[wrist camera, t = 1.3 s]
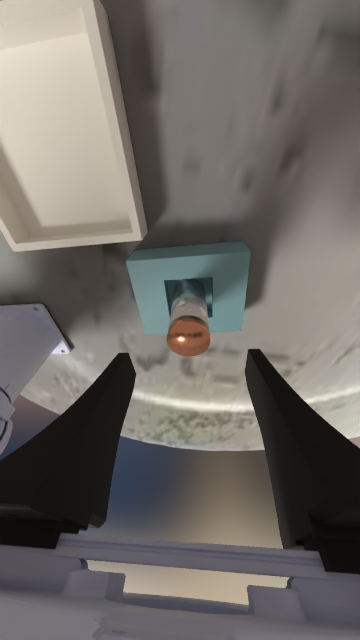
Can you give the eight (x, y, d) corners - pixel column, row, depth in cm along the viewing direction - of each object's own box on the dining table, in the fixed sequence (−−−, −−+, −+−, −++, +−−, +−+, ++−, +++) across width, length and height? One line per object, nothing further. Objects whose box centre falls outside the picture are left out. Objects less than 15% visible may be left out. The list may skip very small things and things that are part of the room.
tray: (33, 243, 19) (13, 251, 17) (-68, 53, 12) (-121, 29, 10) (147, 232, 17) (142, 240, 15) (108, 15, 11) (88, -21, 9)
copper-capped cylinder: (176, 305, 20) (169, 356, 14) (172, 278, 18) (163, 325, 13) (205, 304, 20) (210, 355, 14) (204, 276, 18) (210, 323, 12)
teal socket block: (150, 318, 23) (145, 334, 21) (134, 249, 18) (125, 261, 16) (236, 314, 22) (241, 331, 20) (243, 240, 17) (251, 251, 15)
